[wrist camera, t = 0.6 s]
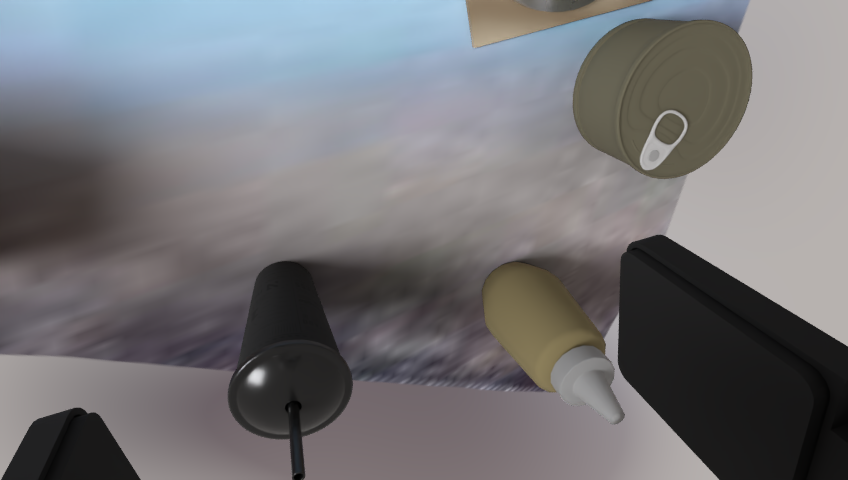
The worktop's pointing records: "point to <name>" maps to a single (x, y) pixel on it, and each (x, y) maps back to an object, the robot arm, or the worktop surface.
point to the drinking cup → (288, 363)
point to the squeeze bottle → (550, 336)
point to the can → (663, 93)
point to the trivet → (526, 18)
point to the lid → (553, 4)
